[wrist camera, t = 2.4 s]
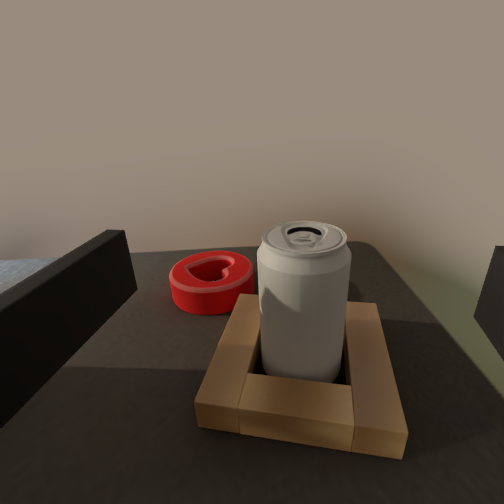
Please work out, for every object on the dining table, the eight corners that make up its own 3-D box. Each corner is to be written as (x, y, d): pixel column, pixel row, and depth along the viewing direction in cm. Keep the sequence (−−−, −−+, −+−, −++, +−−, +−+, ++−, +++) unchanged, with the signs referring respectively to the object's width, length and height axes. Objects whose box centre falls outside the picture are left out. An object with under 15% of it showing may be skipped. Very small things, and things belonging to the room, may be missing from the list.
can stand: (373, 324, 31) (376, 303, 30) (402, 460, 19) (409, 433, 18) (241, 313, 34) (239, 293, 33) (197, 427, 22) (193, 401, 21)
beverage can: (337, 344, 29) (349, 218, 24) (342, 405, 23) (358, 256, 18) (268, 337, 30) (264, 216, 25) (255, 393, 24) (247, 251, 19)
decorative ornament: (173, 277, 42) (169, 255, 40) (246, 266, 43) (244, 245, 42) (172, 321, 33) (167, 295, 32) (262, 306, 35) (261, 281, 33)
